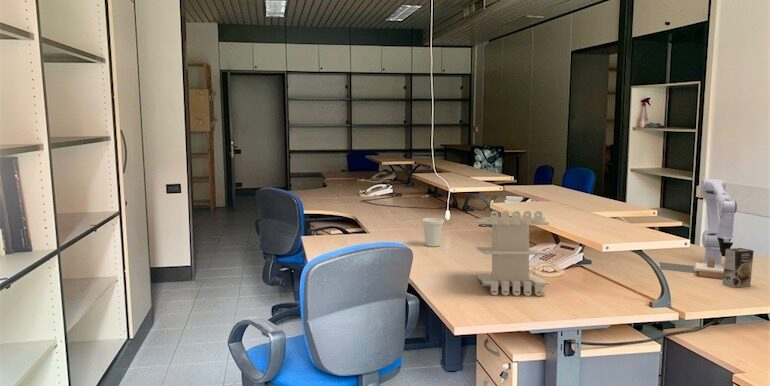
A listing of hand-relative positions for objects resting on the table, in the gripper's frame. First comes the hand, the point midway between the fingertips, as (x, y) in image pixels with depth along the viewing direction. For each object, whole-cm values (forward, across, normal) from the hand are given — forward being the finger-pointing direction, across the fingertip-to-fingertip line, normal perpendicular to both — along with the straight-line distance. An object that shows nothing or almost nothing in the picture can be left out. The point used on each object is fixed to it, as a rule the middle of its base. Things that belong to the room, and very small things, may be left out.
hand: (723, 254), depth 260 cm
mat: (+9, -2, -19) cm, 21 cm away
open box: (+9, +6, -5) cm, 12 cm away
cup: (+10, +5, -145) cm, 145 cm away
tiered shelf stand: (+10, +61, -86) cm, 106 cm away
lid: (+6, +6, -5) cm, 10 cm away
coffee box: (+10, +18, +4) cm, 21 cm away
